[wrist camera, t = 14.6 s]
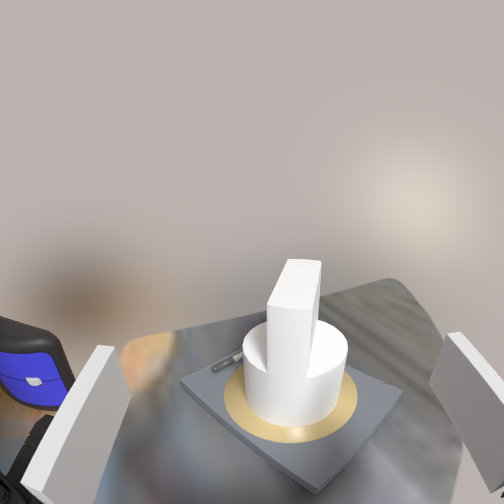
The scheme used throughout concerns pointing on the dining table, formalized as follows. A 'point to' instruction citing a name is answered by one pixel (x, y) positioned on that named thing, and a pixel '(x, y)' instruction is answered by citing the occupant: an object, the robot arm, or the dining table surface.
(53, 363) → the black two-tone rounded device
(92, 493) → the robot arm
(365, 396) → the plate
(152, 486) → the dining table surface
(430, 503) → the dining table surface
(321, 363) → the base with upright slab
